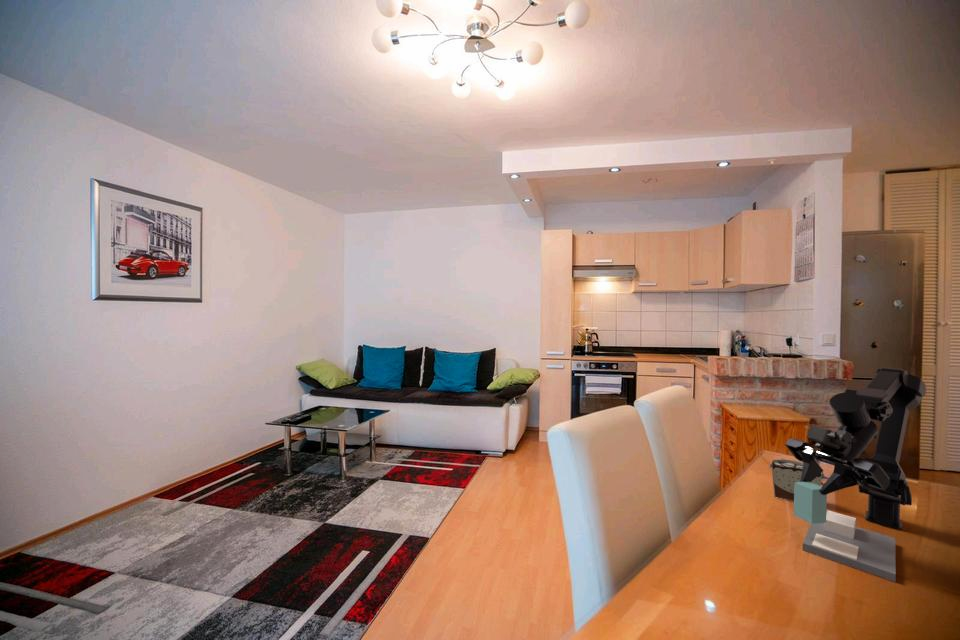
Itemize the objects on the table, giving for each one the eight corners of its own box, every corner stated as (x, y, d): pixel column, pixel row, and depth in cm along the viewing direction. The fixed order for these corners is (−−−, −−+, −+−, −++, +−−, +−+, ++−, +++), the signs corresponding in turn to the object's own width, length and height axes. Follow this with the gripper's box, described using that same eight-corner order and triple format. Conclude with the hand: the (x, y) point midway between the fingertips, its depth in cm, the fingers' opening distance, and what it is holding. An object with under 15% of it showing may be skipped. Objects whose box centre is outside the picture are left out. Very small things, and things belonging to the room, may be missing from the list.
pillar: (807, 513, 91) (808, 481, 91) (826, 522, 87) (827, 488, 87) (793, 515, 90) (794, 482, 90) (811, 523, 87) (812, 489, 87)
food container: (819, 500, 113) (820, 465, 113) (824, 508, 108) (825, 471, 108) (766, 488, 119) (767, 455, 119) (768, 496, 114) (769, 461, 114)
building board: (814, 520, 100) (815, 504, 100) (894, 544, 90) (895, 527, 90) (802, 549, 86) (803, 531, 86) (895, 582, 76) (896, 561, 76)
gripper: (792, 405, 99) (754, 451, 97) (881, 425, 81) (837, 482, 79) (816, 435, 101) (779, 481, 99) (909, 462, 83) (866, 518, 80)
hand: (811, 489), depth 89 cm, fingers closed on pillar, 4 cm apart
